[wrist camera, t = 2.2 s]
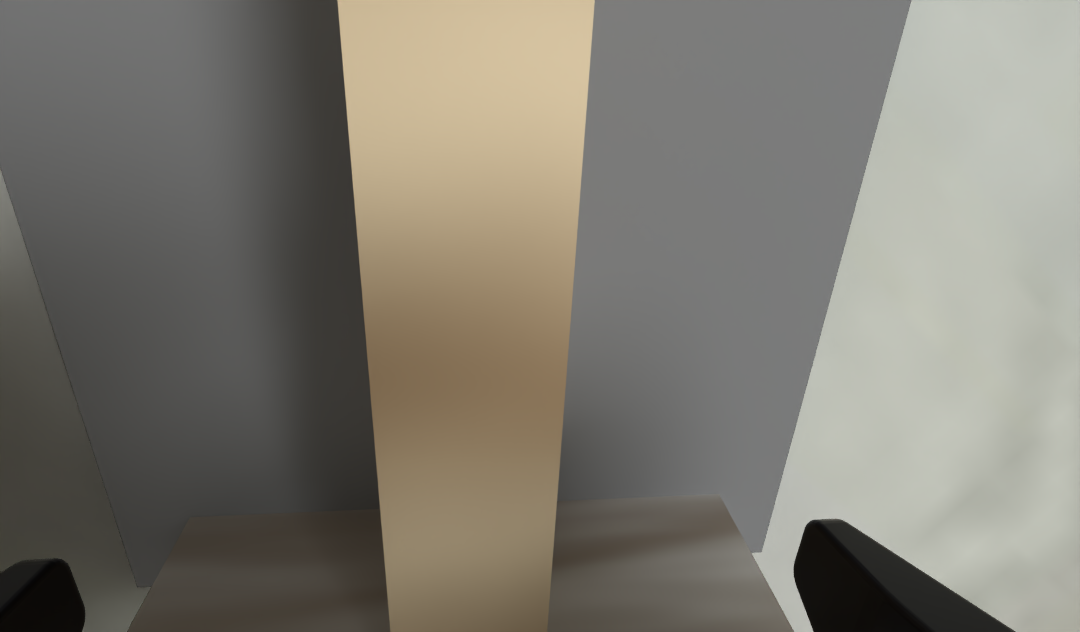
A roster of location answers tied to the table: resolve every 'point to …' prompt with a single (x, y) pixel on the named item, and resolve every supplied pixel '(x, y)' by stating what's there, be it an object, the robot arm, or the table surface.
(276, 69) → the tool mat
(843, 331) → the table surface
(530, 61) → the pusher tool
